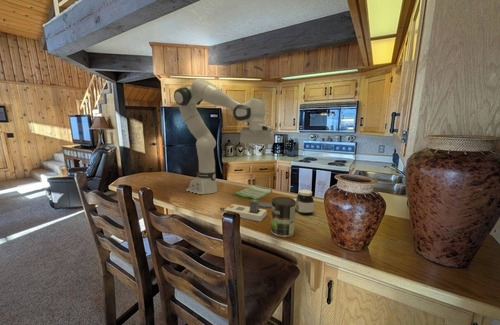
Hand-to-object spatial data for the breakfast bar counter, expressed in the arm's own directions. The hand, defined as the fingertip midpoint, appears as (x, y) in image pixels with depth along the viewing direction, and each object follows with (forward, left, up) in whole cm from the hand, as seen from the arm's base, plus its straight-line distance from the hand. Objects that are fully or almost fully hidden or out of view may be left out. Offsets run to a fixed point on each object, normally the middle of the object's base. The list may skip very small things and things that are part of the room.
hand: (256, 151), depth 124 cm
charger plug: (+7, -19, -31) cm, 37 cm away
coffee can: (+24, -28, -31) cm, 48 cm away
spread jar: (+27, -2, -31) cm, 41 cm away
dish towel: (-8, +17, -32) cm, 37 cm away
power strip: (0, -19, -31) cm, 36 cm away
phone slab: (+7, -1, -32) cm, 32 cm away
